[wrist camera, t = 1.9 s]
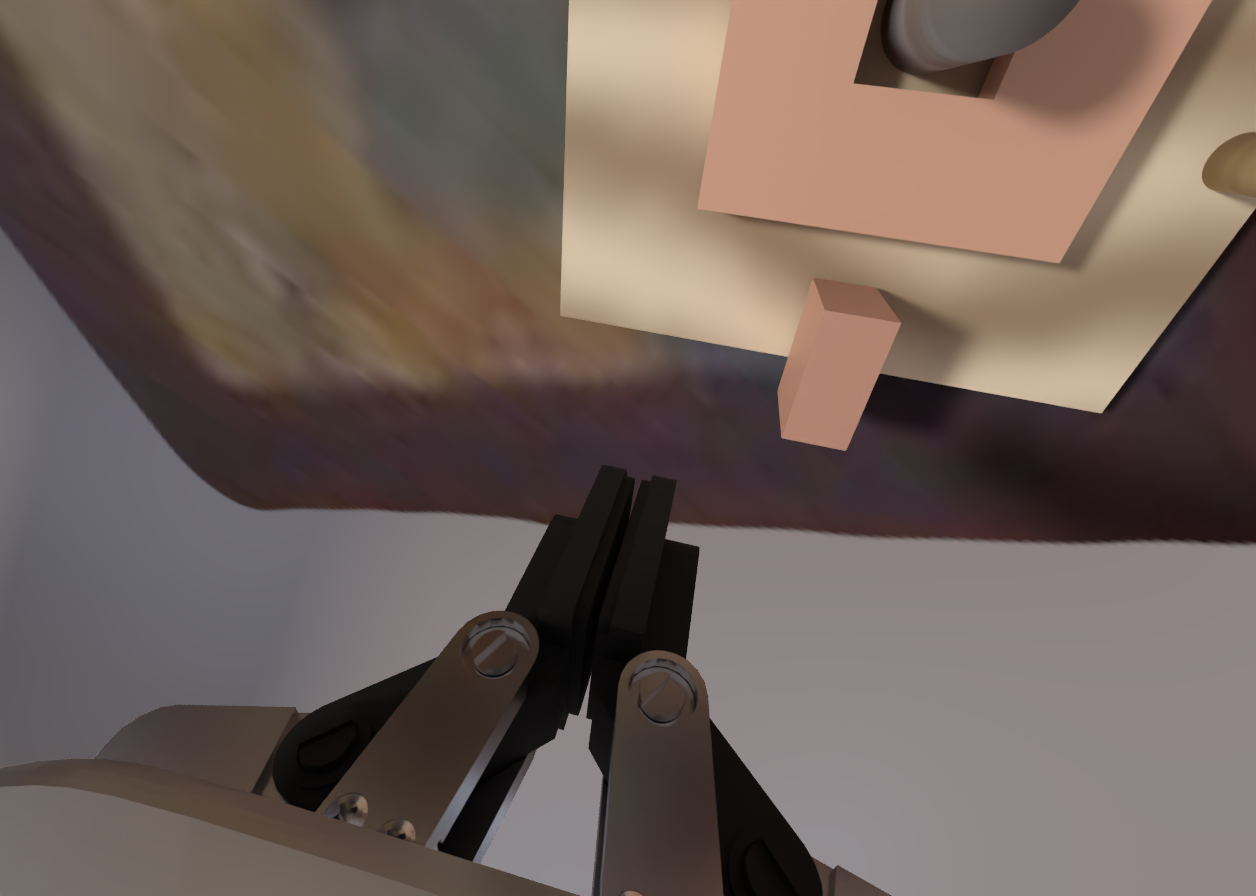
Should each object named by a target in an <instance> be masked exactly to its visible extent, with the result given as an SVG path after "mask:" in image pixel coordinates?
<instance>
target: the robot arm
mask: <svg viewBox="0 0 1256 896" xmlns="http://www.w3.org/2000/svg"><path fill="white" fill-rule="evenodd" d="M634 483H635V478H632V477H628V476H627V470H626V469H622V468H617V467H612V466H608V465H602V467H601V469H600V471H599V473H598V475H597V478H596V480H595V482H594V484H593V487H592V489H591V491H590V493H589V495H588V498H587V500H586V502H585V504H584V507H583V509H582V511H581V513H580V516H579V518H578V519H575V518H570V517H566V516H561V515H557V514H556V515H555V516H554V517H553V519H552V520H551V522H550V524H549V526H548V528H547V530H546V532H545V534H544V536H543V538H542V540H541V541H540V543H539V546H538V547H537V549H536V552H535V553H534V555H533V557H532V559H531V561H530V563H529V565H528V567H527V569H526V571H525V573H524V575H523V577H522V579H521V580H520V582H519V585H518V586H517V588H516V590H515V592H514V594H513V596H512V598H511V600H510V602H509V604H508V606H507V608H506V610H505V611H492V612H488V613H484V614H481V615H479V616H477V617H475V618H473V619H472V620H470V621H468V622H467V623H466V624H465V625H464V626H463V627H462V628H461V629H460V630H459V631H458V632H457V633H456V635H455V636H454V637H453V638H452V639H451V641H450V642H449V643H448V645H447V646H446V647H445V648H444V650H443V651H442V652H441V653H440V655H439V656H438V657H436V658H434V659H432V660H429V661H427V662H425V663H422V664H420V665H418V666H415V667H413V668H411V669H409V670H407V671H404V672H401V673H399V674H397V675H394V676H392V677H390V678H387V679H385V680H383V681H380V682H378V683H376V684H373V685H371V686H369V687H366V688H364V689H362V690H360V691H357V692H355V693H352V694H350V695H348V696H345V697H343V698H341V699H338V700H336V701H334V702H331V703H329V704H327V705H324V706H322V707H321V708H319V709H317V710H315V711H314V712H312V713H298V711H297V709H296V707H260V706H258V707H257V706H213V705H211V706H210V705H174V706H166V707H160V708H158V709H155V710H153V711H151V712H148V713H146V714H143V715H141V716H139V717H138V718H136V719H135V720H133V721H132V722H130V723H129V724H127V725H126V726H124V727H123V728H121V729H120V730H119V731H118V732H117V733H116V734H115V735H114V737H112V738H111V739H110V740H109V741H108V743H106V744H105V746H104V747H103V748H102V750H101V751H100V752H99V754H98V755H97V756H96V757H95V758H94V759H81V758H74V759H73V758H71V759H59V760H46V761H36V762H30V763H25V764H20V765H14V766H8V767H3V768H0V896H579V895H576V894H573V893H570V892H567V891H563V890H560V889H557V888H554V887H551V886H547V885H544V884H541V883H538V882H535V881H531V880H529V879H525V878H522V877H519V876H516V875H513V874H510V873H506V872H503V871H500V870H497V869H494V868H491V867H487V866H484V865H481V864H480V863H481V861H482V859H483V857H484V855H485V853H486V852H487V850H488V848H489V846H490V844H491V842H492V840H493V838H494V836H495V834H496V832H497V830H498V828H499V826H500V824H501V822H502V820H503V818H504V816H505V814H506V812H507V810H508V808H509V806H510V804H511V802H512V800H513V798H514V796H515V794H516V792H517V790H518V788H519V786H520V784H521V782H522V780H523V778H524V776H525V774H526V772H527V770H528V768H529V766H530V764H531V762H532V760H533V758H534V755H535V752H536V749H537V748H539V747H541V746H543V745H544V744H546V743H548V742H549V741H551V740H553V739H555V736H556V733H557V730H558V729H562V730H564V727H565V724H566V720H567V717H568V714H569V713H570V714H573V715H577V716H578V715H579V712H580V709H581V706H582V703H583V699H584V696H585V692H586V689H587V686H588V683H589V679H590V676H591V682H590V691H589V700H588V708H587V717H586V718H588V719H592V725H591V733H590V741H589V750H590V752H591V754H592V755H593V757H594V759H595V761H596V763H597V765H598V767H599V768H600V770H601V772H602V774H603V777H602V786H601V797H600V808H599V818H598V830H597V840H596V852H595V862H594V873H593V884H592V895H591V896H891V895H889V894H887V893H886V892H884V891H882V890H881V889H879V888H877V887H875V886H874V885H872V884H870V883H868V882H866V881H865V880H863V879H861V878H859V877H857V876H856V875H854V874H852V873H851V872H849V871H847V870H845V869H844V868H842V867H840V866H838V865H837V866H836V867H835V868H834V869H832V868H830V867H829V866H827V865H825V864H823V863H822V862H820V861H818V860H816V859H815V858H813V857H811V856H810V854H809V852H808V850H807V849H806V847H805V845H804V844H803V843H802V841H801V840H800V839H799V837H798V836H797V834H796V833H795V832H794V830H793V829H792V828H791V826H790V825H789V824H788V823H787V821H786V820H785V818H784V817H783V816H782V814H781V813H780V812H779V810H778V809H777V808H776V806H775V805H774V804H773V802H772V801H771V800H770V798H769V797H768V796H767V794H766V793H765V791H764V790H763V789H762V787H761V786H760V785H759V784H758V782H757V781H756V779H755V778H754V777H753V776H752V774H751V773H750V771H749V770H748V769H747V767H746V766H745V765H744V764H743V762H742V761H741V759H740V758H739V757H738V755H737V754H736V753H735V751H734V750H733V749H732V747H731V746H730V744H729V743H728V742H727V740H726V739H725V738H724V737H723V735H722V734H721V732H720V731H719V730H718V728H717V727H716V726H715V724H714V723H713V722H712V720H711V719H710V717H709V705H708V695H707V690H706V686H705V682H704V680H703V679H702V677H701V675H700V674H699V672H698V670H697V669H696V668H695V667H694V666H693V665H692V664H691V663H690V662H689V661H688V660H686V654H687V646H688V638H689V630H690V622H691V614H692V606H693V598H694V590H695V582H696V574H697V566H698V558H699V547H697V546H693V545H689V544H684V543H680V542H675V541H671V540H667V539H665V536H666V532H667V527H668V522H669V517H670V512H671V507H672V502H673V498H674V493H675V488H676V483H677V480H673V479H668V478H664V477H659V476H654V475H653V477H652V480H651V481H646V480H642V481H641V484H640V488H639V491H638V494H637V497H636V500H635V503H634V507H633V510H632V513H631V516H630V510H631V504H632V497H633V490H634ZM629 517H630V519H629ZM591 672H592V674H591Z"/></svg>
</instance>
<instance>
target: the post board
mask: <svg viewBox="0 0 1256 896" xmlns="http://www.w3.org/2000/svg"><path fill="white" fill-rule="evenodd" d="M1078 2H1079V0H878V1H877V4H876V8H875V11H874V15H873V18H872V21H871V25H870V28H869V32H868V35H867V39H866V42H865V45H864V49H863V52H862V56H861V59H860V62H859V66H858V69H857V73H856V76H855V79H854V84H863V85H871V86H880V87H888V88H897V89H905V90H914V91H922V92H931V93H939V94H948V95H956V96H965V97H973V98H978V97H979V94H980V92H981V90H982V87H983V85H984V82H985V80H986V77H987V75H988V73H989V70H990V68H991V65H992V63H993V61H994V58H995V57H998V56H1002V55H1006V54H1010V53H1013V52H1016V51H1018V50H1021V49H1023V48H1025V47H1027V46H1029V45H1031V44H1033V43H1034V42H1036V41H1037V40H1039V39H1041V38H1042V37H1044V36H1045V35H1046V34H1047V33H1049V32H1050V31H1051V30H1053V29H1054V28H1055V27H1056V26H1057V25H1058V24H1059V23H1060V22H1061V21H1062V20H1063V19H1064V18H1065V17H1066V16H1067V15H1068V14H1069V13H1070V12H1071V11H1072V10H1073V8H1074V7H1075V6H1076V4H1077V3H1078ZM731 4H732V0H569V25H568V61H567V96H566V131H565V167H564V202H563V238H562V273H561V308H560V316H565V317H570V318H576V319H581V320H587V321H592V322H598V323H603V324H609V325H615V326H620V327H626V328H631V329H637V330H642V331H648V332H653V333H659V334H664V335H670V336H675V337H681V338H687V339H692V340H698V341H703V342H709V343H714V344H720V345H725V346H731V347H736V348H742V349H748V350H753V351H759V352H764V353H770V354H775V355H781V356H786V357H788V356H789V353H790V350H791V346H792V343H793V340H794V337H795V333H796V330H797V327H798V324H799V321H800V317H801V314H802V311H803V308H804V305H805V301H806V298H807V295H808V292H809V289H810V285H811V282H812V279H813V278H817V279H823V280H830V281H836V282H842V283H848V284H854V285H860V286H867V287H873V288H877V290H878V291H879V293H880V294H881V295H882V297H883V298H884V300H885V301H886V302H887V304H888V305H889V307H890V308H891V309H892V311H893V312H894V314H895V315H896V316H897V318H898V319H899V320H900V322H901V325H900V327H899V330H898V332H897V334H896V337H895V339H894V341H893V344H892V346H891V348H890V350H889V353H888V355H887V357H886V360H885V362H884V364H883V367H882V369H881V371H880V374H886V375H892V376H897V377H903V378H908V379H914V380H919V381H925V382H930V383H936V384H941V385H947V386H953V387H958V388H964V389H969V390H975V391H980V392H986V393H991V394H997V395H1002V396H1008V397H1013V398H1019V399H1025V400H1030V401H1036V402H1041V403H1047V404H1052V405H1058V406H1063V407H1069V408H1074V409H1080V410H1085V411H1091V412H1097V413H1102V412H1103V411H1104V409H1105V408H1106V407H1107V405H1108V404H1109V403H1110V401H1111V400H1112V399H1113V397H1114V396H1115V395H1116V393H1117V392H1118V391H1119V389H1120V388H1121V387H1122V385H1123V384H1124V383H1125V381H1126V380H1127V379H1128V377H1129V376H1130V375H1131V373H1132V372H1133V371H1134V369H1135V368H1136V367H1137V365H1138V364H1139V363H1140V361H1141V360H1142V359H1143V357H1144V356H1145V355H1146V353H1147V352H1148V351H1149V349H1150V348H1151V347H1152V345H1153V344H1154V343H1155V341H1156V340H1157V339H1158V337H1159V336H1160V335H1161V333H1162V332H1163V331H1164V329H1165V328H1166V327H1167V325H1168V324H1169V323H1170V321H1171V320H1172V319H1173V317H1174V316H1175V315H1176V313H1177V312H1178V311H1179V310H1180V308H1181V307H1182V306H1183V304H1184V303H1185V302H1186V300H1187V299H1188V298H1189V296H1190V295H1191V294H1192V292H1193V291H1194V290H1195V288H1196V287H1197V286H1198V284H1199V283H1200V282H1201V280H1202V279H1203V278H1204V276H1205V275H1206V274H1207V272H1208V271H1209V270H1210V268H1211V267H1212V266H1213V264H1214V263H1215V262H1216V260H1217V259H1218V258H1219V256H1220V255H1221V254H1222V252H1223V251H1224V250H1225V248H1226V247H1227V246H1228V244H1229V243H1230V242H1231V240H1232V239H1233V238H1234V236H1235V235H1236V234H1237V232H1238V231H1239V230H1240V228H1241V227H1242V226H1243V224H1244V223H1245V222H1246V220H1247V219H1248V218H1249V216H1250V215H1251V214H1252V212H1253V211H1254V210H1255V208H1256V0H1212V1H1211V3H1210V5H1209V7H1208V8H1207V10H1206V12H1205V13H1204V15H1203V17H1202V19H1201V20H1200V22H1199V24H1198V25H1197V27H1196V29H1195V31H1194V32H1193V34H1192V36H1191V38H1190V39H1189V41H1188V43H1187V44H1186V46H1185V48H1184V50H1183V51H1182V53H1181V55H1180V56H1179V58H1178V60H1177V62H1176V63H1175V65H1174V67H1173V69H1172V70H1171V72H1170V74H1169V75H1168V77H1167V79H1166V81H1165V82H1164V84H1163V86H1162V87H1161V89H1160V91H1159V93H1158V94H1157V96H1156V98H1155V100H1154V101H1153V103H1152V105H1151V106H1150V108H1149V110H1148V112H1147V113H1146V115H1145V117H1144V118H1143V120H1142V122H1141V124H1140V125H1139V127H1138V129H1137V131H1136V132H1135V134H1134V136H1133V137H1132V139H1131V141H1130V143H1129V144H1128V146H1127V148H1126V150H1125V151H1124V153H1123V155H1122V156H1121V158H1120V160H1119V162H1118V163H1117V165H1116V167H1115V168H1114V170H1113V172H1112V174H1111V175H1110V177H1109V179H1108V181H1107V182H1106V184H1105V186H1104V187H1103V189H1102V191H1101V193H1100V194H1099V196H1098V198H1097V199H1096V201H1095V203H1094V205H1093V206H1092V208H1091V210H1090V212H1089V213H1088V215H1087V217H1086V218H1085V220H1084V222H1083V224H1082V225H1081V227H1080V229H1079V230H1078V232H1077V234H1076V236H1075V237H1074V239H1073V241H1072V243H1071V244H1070V246H1069V248H1068V249H1067V251H1066V253H1065V255H1064V256H1063V258H1062V260H1061V261H1060V263H1053V262H1047V261H1040V260H1034V259H1027V258H1020V257H1014V256H1007V255H1000V254H994V253H987V252H980V251H974V250H967V249H960V248H954V247H947V246H940V245H934V244H927V243H921V242H914V241H907V240H901V239H894V238H887V237H881V236H874V235H867V234H861V233H854V232H847V231H841V230H834V229H827V228H821V227H814V226H808V225H801V224H794V223H788V222H781V221H774V220H768V219H761V218H754V217H748V216H741V215H734V214H728V213H721V212H715V211H708V210H701V209H697V206H698V200H699V194H700V188H701V182H702V176H703V170H704V164H705V158H706V152H707V147H708V141H709V135H710V129H711V123H712V117H713V111H714V105H715V99H716V93H717V87H718V81H719V75H720V69H721V63H722V57H723V51H724V45H725V39H726V34H727V28H728V22H729V16H730V10H731Z"/></svg>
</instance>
